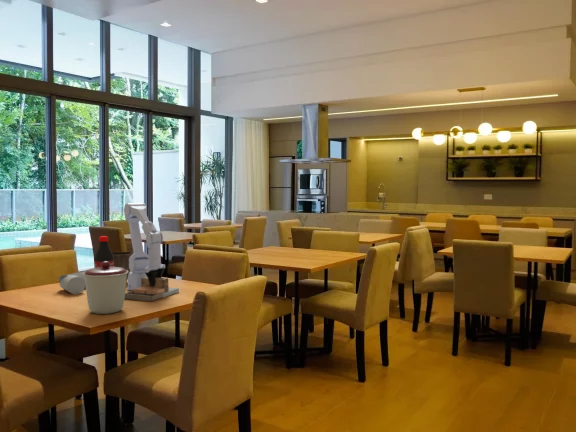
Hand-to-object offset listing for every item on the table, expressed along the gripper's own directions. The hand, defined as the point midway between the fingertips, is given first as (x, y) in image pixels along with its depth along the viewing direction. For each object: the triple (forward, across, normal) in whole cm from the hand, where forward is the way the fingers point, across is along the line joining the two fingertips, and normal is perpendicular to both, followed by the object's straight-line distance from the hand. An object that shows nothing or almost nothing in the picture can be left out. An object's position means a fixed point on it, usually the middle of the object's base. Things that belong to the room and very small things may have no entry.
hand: (154, 285), depth 252 cm
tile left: (+3, -5, +4) cm, 6 cm away
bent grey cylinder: (+5, -4, +44) cm, 44 cm away
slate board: (+5, +2, 0) cm, 5 cm away
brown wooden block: (+2, 0, 0) cm, 3 cm away
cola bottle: (+5, -23, +11) cm, 26 cm away
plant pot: (+5, +20, +37) cm, 43 cm away
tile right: (+3, -5, -4) cm, 6 cm away
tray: (+5, -9, 0) cm, 10 cm away
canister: (+5, -36, -1) cm, 36 cm away
